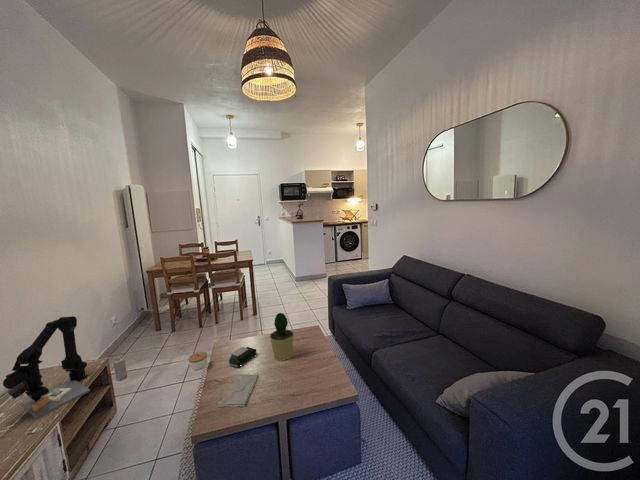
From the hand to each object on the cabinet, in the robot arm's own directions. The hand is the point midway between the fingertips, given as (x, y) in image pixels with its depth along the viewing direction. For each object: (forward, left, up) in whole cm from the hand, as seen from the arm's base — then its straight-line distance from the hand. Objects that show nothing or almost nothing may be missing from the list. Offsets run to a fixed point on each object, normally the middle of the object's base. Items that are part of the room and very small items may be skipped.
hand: (37, 403), depth 140 cm
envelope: (-56, +88, -4) cm, 104 cm away
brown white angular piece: (-5, 0, -2) cm, 5 cm away
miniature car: (-79, +68, -3) cm, 104 cm away
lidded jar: (-61, +48, -3) cm, 77 cm away
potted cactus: (-94, +89, -3) cm, 129 cm away
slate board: (-8, -1, -3) cm, 8 cm away
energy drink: (-33, +14, -3) cm, 36 cm away
